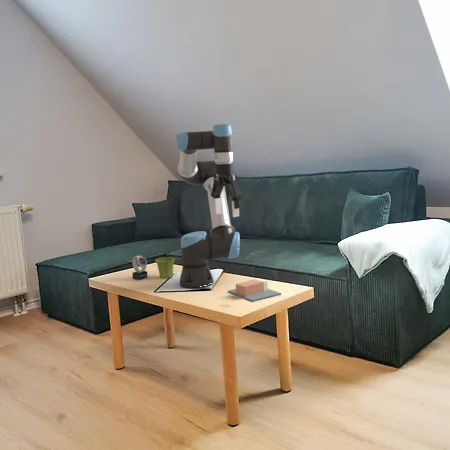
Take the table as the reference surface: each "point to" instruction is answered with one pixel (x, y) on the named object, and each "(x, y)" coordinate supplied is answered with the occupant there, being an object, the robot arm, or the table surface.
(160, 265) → the plant pot
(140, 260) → the watch
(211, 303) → the table surface
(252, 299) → the slate mat
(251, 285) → the block
